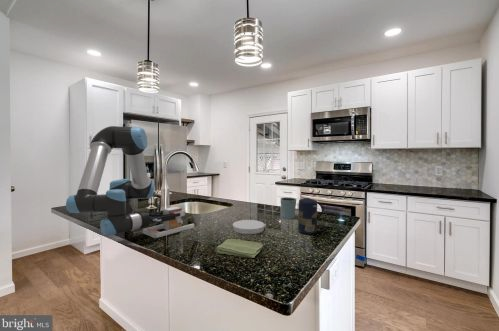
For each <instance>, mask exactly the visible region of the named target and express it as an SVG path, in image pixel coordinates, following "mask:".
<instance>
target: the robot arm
mask: <svg viewBox="0 0 499 331" xmlns="http://www.w3.org/2000/svg"><path fill="white" fill-rule="evenodd" d="M147 147H148V138H147V133H146V131H145V129H144V128H143V127H140V126H115V125H114V126H113V125H111V126H107V127H105V128H102V129H101V130H100V131H98V132H97V133H96V134H95V135H94V136H93V138H92V140H91V141H90V144H89V149H90V151H89V155H88V158H87V161H86V165H85V167H84V169H83V170H84V171H83V173H82V177H81V179H80V182H79V185H78V188H77V192H76V194H72V195H69V196H68V197H67V199H66V201H65V209H66V211H68V213H71V214H85V213H106V214H105V215H106V217H105V218H102V219H101V221H100V224H99V227H100V233H101V234H102V235H103V236H105V237H109V236H115V235H119V234H123V233H127V232H130V231H131V232H134V231H136V230H140V229H145V228H149V227H150V223H152V224H153V223H157V224H162V223H163V222H164V221H169V220H175V219H176V218H177V217H181V216H182V217H184V216H185V215H186V211H185V210H182V211H179V212H174V213H172V214H164V215H163V209H161V210H158V211H151V212H147V211H141V212H135V213H134V209H133V207H132V206H133V205H132V203H131V200H140V199H141V200H145V199H146V200H147V199H152V198H153V197H154V194H155V193H154V192H155V180H152V178H150V176H149V175H148V171H147V168H146V167H147V166H146V161H145V156H144V151H145V149H147ZM113 149H121V151H122V153H123V154H124V155H126V158H127V162H128V165H129V169H130V174H131V177H132V180H131V179H130V178H122V179H116V180H112V181H110V182H109V189H108V190H106V191H105V194H104V193H103V194H98V192H99V188H100V184H101V181H102V179H103V178H102V177H103V174H104V171H105V170H104V169H105V167H106V163H107V160H108V156H109V154H111V152H112V150H113Z"/></svg>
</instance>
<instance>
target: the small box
mask: <svg viewBox="0 0 499 331" xmlns="http://www.w3.org/2000/svg"><path fill="white" fill-rule="evenodd" d="M182 209H183V208H182V207H179V206H173V207H168V208H163V209H162V210H163V215H164V214H172V213H174V212H179V211H183V210H182ZM182 217H183V216H181V217H177V218H176V219H175V220H169V221H164V222H162V224H163V229H164V230H165V231H166V230H170V229H174V228H178V227H182V220H183V219H182ZM163 229H162V230H163Z"/></svg>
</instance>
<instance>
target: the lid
mask: <svg viewBox="0 0 499 331" xmlns="http://www.w3.org/2000/svg"><path fill="white" fill-rule="evenodd" d="M232 227H233V228H232V229H233V231H234V232H235V233H238V234H243V235H255V234H260V233H262V232H264V230H265V228H267V224H266V223H264V222H263V221H260V220H255V219H242V220H237V221H234V222H233V223H232Z"/></svg>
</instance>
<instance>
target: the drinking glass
mask: <svg viewBox="0 0 499 331" xmlns="http://www.w3.org/2000/svg"><path fill="white" fill-rule="evenodd" d="M296 207H297V198H294V197H285V196H284V197H280V217H281V219H284V220H293V219H295V217H296Z"/></svg>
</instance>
